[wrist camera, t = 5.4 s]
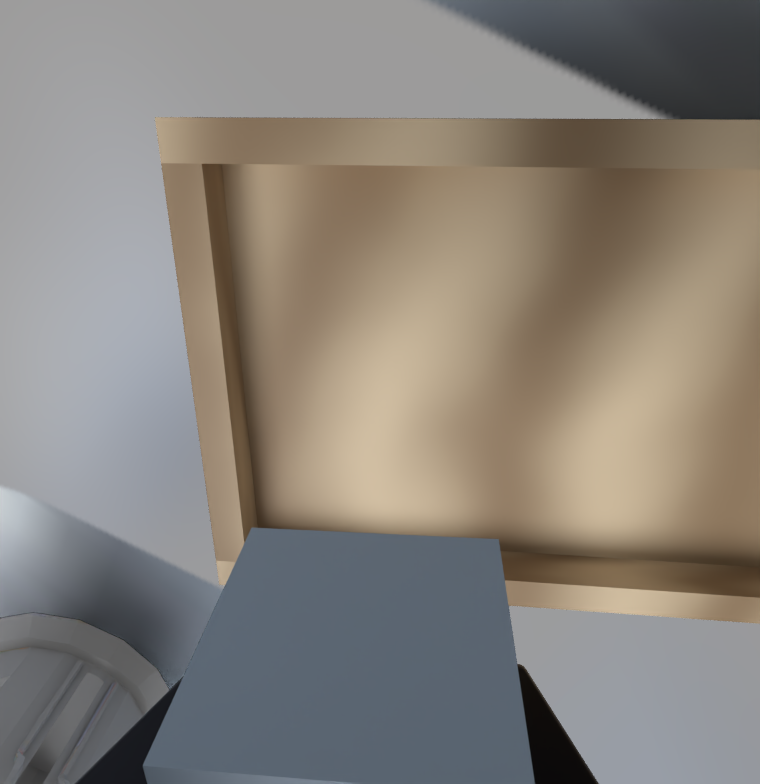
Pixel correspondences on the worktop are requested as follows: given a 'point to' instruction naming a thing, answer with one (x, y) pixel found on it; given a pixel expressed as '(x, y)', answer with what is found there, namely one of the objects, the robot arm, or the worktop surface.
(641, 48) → the worktop surface
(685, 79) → the worktop surface
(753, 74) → the worktop surface
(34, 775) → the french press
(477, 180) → the tray
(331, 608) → the block
